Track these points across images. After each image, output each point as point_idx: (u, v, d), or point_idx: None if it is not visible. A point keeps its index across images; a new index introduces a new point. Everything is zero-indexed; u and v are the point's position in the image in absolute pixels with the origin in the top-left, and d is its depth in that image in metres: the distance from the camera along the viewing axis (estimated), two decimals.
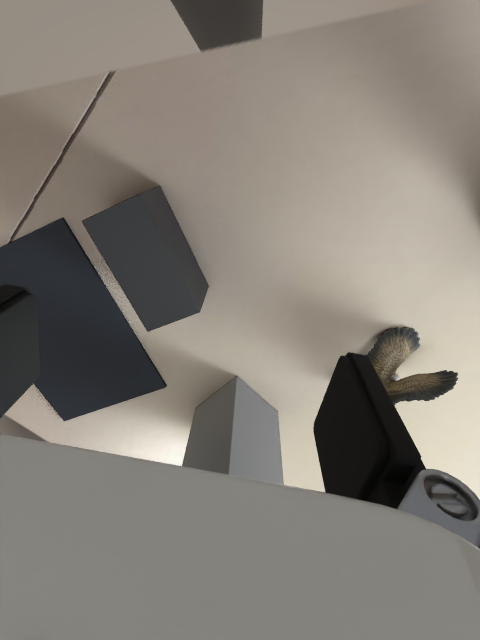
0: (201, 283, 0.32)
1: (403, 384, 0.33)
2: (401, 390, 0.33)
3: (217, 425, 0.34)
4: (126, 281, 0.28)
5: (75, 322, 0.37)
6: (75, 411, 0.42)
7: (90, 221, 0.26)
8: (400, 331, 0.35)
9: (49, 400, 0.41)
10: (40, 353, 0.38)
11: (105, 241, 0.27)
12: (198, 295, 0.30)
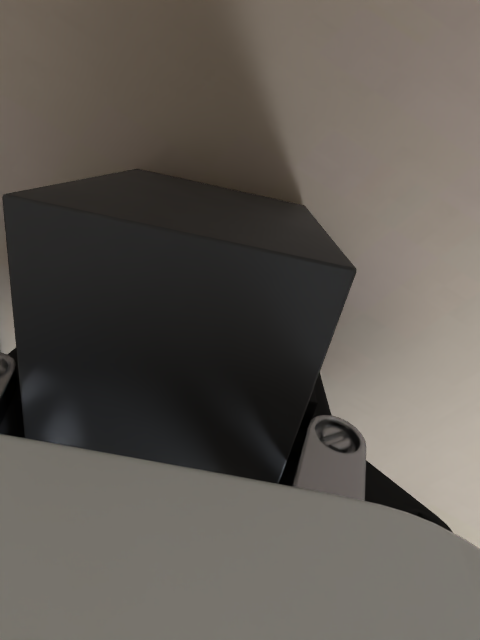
0: None
1: None
2: None
3: None
4: None
5: None
6: None
7: (48, 225, 0.05)
8: None
9: None
10: None
11: (67, 333, 0.06)
12: None
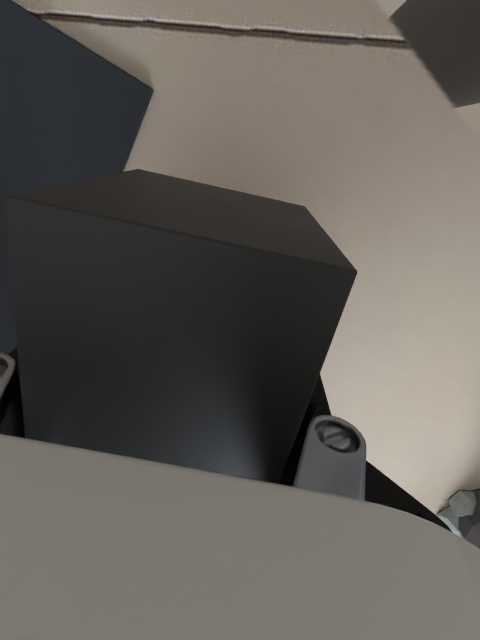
0: None
1: None
2: None
3: None
4: None
5: None
6: None
7: (49, 225, 0.05)
8: None
9: None
10: None
11: (67, 334, 0.06)
12: None
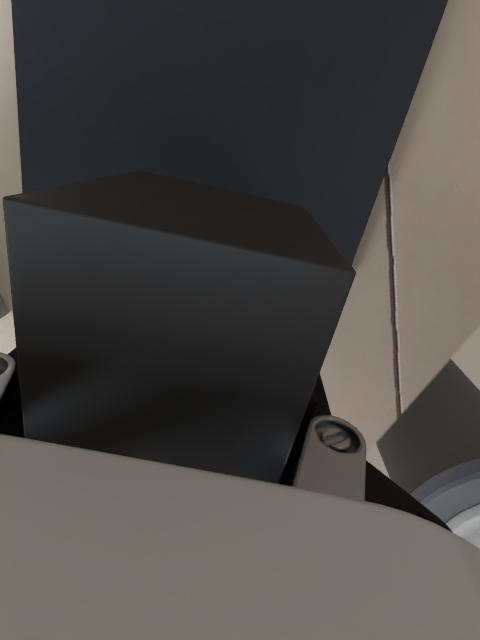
0: None
1: None
2: None
3: None
4: None
5: (215, 153, 0.19)
6: None
7: (48, 227, 0.05)
8: None
9: None
10: (200, 11, 0.17)
11: (67, 335, 0.06)
12: None
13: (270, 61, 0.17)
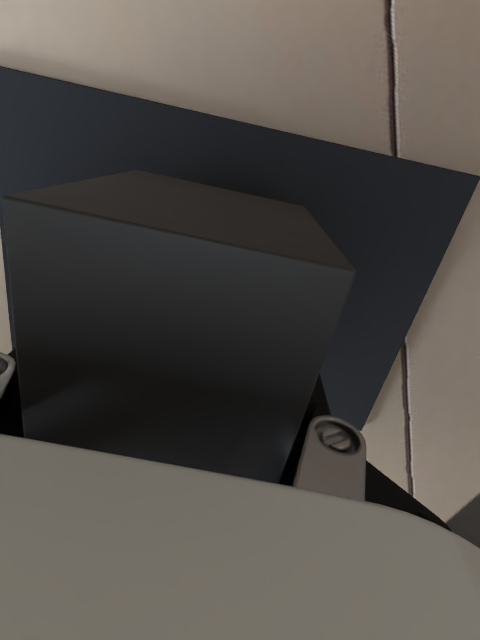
0: None
1: None
2: None
3: None
4: None
5: None
6: (9, 131, 0.14)
7: (48, 226, 0.05)
8: None
9: (69, 90, 0.14)
10: None
11: (66, 335, 0.06)
12: None
13: None
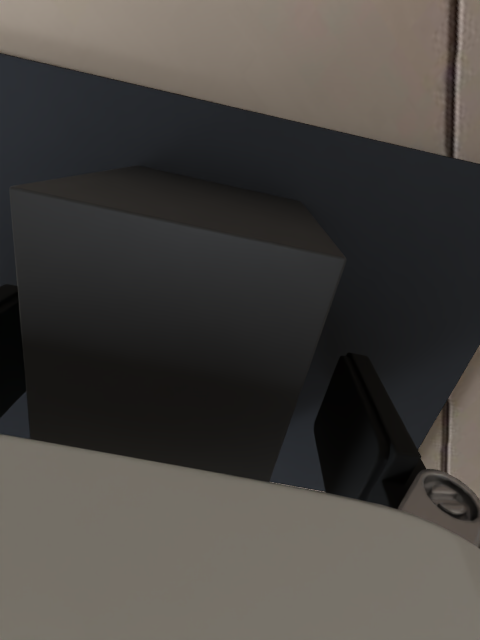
0: None
1: None
2: None
3: None
4: None
5: None
6: None
7: (53, 215, 0.05)
8: None
9: None
10: None
11: (70, 320, 0.06)
12: None
13: None
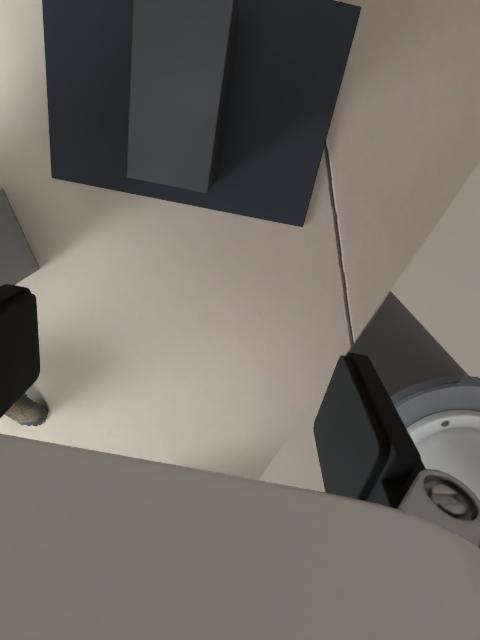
0: (215, 169, 0.25)
1: None
2: None
3: None
4: (142, 91, 0.20)
5: None
6: None
7: None
8: (42, 418, 0.39)
9: None
10: None
11: (149, 15, 0.18)
12: (211, 176, 0.23)
13: (234, 66, 0.24)
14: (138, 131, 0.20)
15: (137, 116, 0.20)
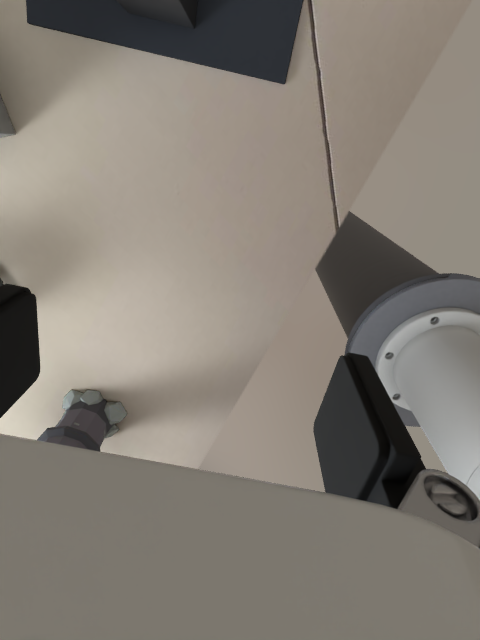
0: (192, 1, 0.24)
1: None
2: None
3: None
4: None
5: None
6: None
7: None
8: None
9: None
10: None
11: None
12: None
13: None
14: None
15: None
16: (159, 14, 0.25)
